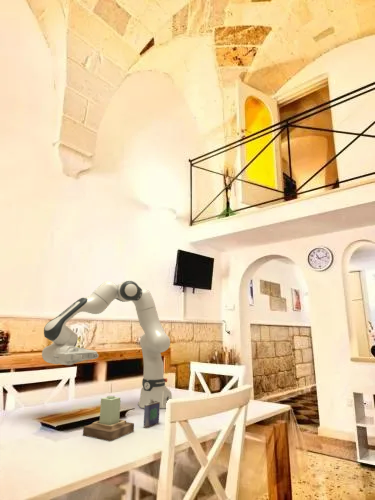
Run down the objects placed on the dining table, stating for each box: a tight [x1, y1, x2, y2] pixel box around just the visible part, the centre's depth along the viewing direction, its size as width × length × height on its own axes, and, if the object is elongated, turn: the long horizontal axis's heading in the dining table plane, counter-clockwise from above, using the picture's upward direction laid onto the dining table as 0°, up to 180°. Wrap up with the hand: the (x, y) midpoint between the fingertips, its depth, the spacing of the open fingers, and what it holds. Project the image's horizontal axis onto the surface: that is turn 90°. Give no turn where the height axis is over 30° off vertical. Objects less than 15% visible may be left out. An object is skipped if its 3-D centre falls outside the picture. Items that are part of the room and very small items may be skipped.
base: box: [82, 418, 135, 442], centre depth 131 cm, size 14×14×4 cm
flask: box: [143, 398, 160, 429], centre depth 143 cm, size 9×3×11 cm, turn 146°
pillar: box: [99, 395, 121, 425], centre depth 132 cm, size 6×6×11 cm
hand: (90, 356), depth 151 cm, fingers open, 8 cm apart
